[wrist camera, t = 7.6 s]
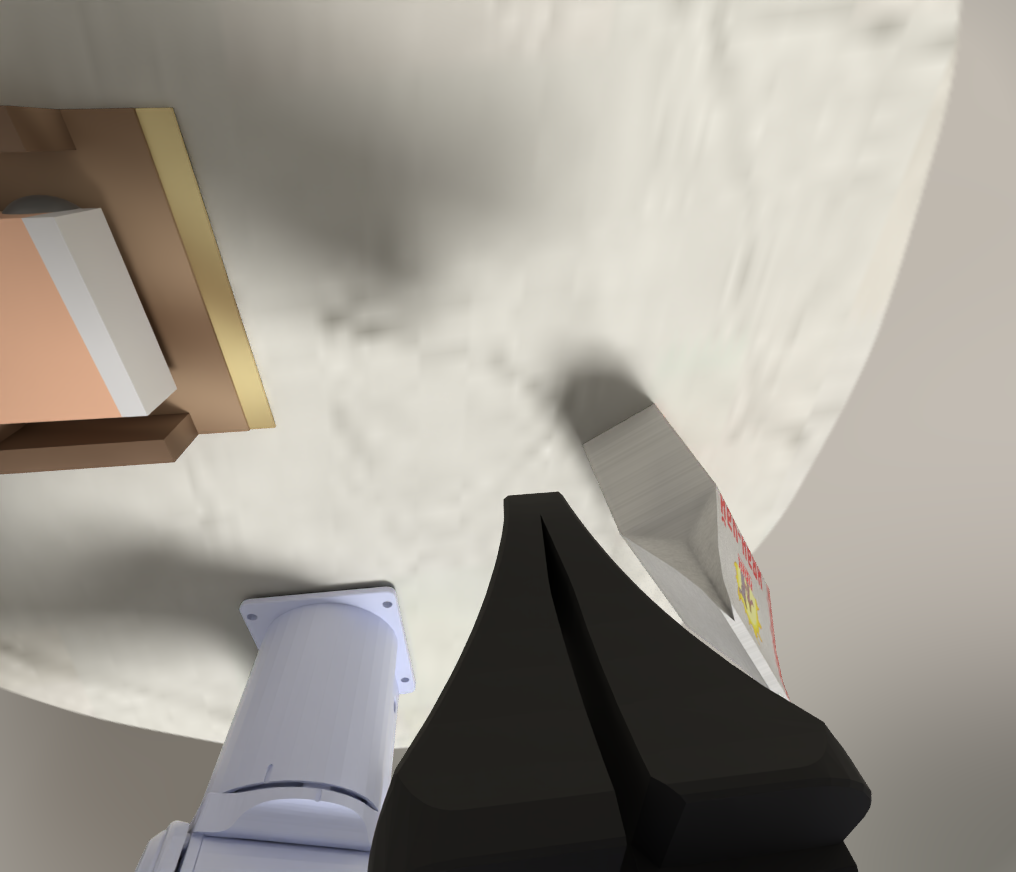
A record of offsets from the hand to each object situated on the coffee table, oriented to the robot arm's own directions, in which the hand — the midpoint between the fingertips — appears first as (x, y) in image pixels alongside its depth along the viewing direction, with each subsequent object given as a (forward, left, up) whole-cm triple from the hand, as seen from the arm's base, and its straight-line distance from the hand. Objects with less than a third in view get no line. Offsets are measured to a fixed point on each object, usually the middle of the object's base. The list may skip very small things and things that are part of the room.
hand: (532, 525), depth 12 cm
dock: (+4, +15, -9) cm, 18 cm away
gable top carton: (-6, -7, -10) cm, 13 cm away
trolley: (+4, +15, -9) cm, 18 cm away
